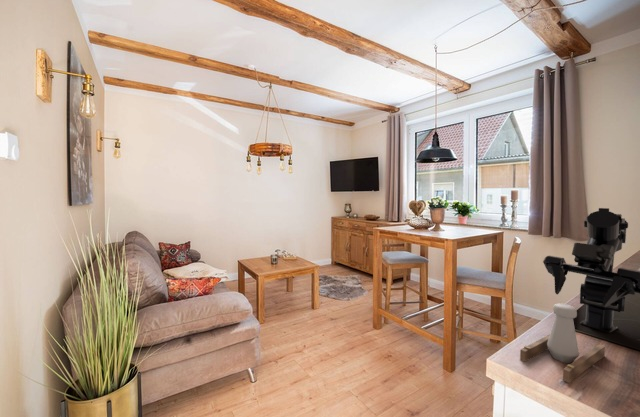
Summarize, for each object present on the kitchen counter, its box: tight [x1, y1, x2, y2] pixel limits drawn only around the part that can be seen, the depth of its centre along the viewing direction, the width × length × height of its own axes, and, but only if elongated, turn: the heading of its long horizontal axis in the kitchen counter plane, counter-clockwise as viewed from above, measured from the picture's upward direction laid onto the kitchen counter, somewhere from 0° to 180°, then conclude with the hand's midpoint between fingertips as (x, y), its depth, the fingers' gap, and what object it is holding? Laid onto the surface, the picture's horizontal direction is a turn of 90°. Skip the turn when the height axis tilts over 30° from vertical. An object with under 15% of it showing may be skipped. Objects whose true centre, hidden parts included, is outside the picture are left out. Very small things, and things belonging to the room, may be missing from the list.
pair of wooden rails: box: [519, 333, 606, 383], centre depth 67 cm, size 20×9×3 cm, turn 119°
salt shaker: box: [547, 302, 580, 364], centre depth 67 cm, size 6×6×13 cm
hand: (578, 299), depth 70 cm, fingers open, 9 cm apart
